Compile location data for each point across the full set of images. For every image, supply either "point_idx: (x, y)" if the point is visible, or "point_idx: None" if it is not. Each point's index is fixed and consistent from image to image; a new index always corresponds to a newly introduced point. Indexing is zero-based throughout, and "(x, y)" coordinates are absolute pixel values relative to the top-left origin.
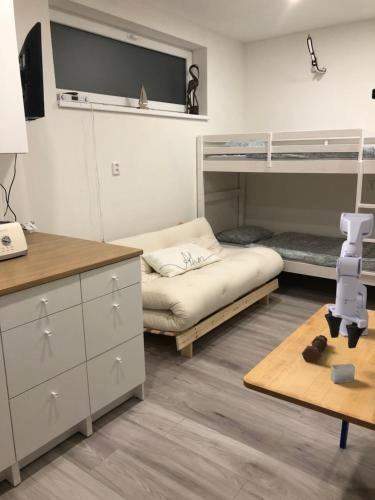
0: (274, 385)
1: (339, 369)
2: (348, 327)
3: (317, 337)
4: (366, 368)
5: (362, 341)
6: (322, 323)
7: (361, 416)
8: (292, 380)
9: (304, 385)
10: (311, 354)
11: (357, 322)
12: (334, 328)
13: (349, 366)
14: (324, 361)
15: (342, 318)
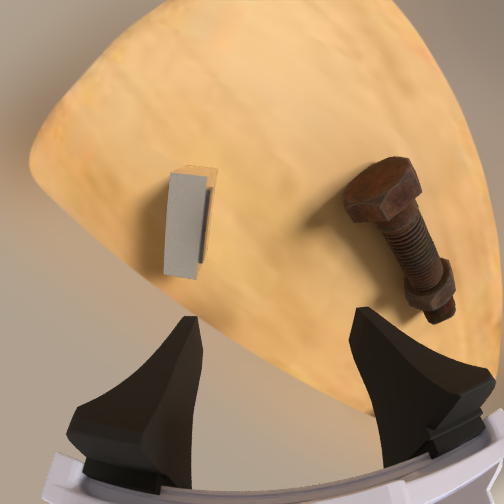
0: None
1: (169, 195)
2: (95, 426)
3: (448, 288)
4: (246, 336)
5: None
6: (479, 354)
7: (33, 152)
8: (264, 27)
9: (215, 49)
10: (376, 181)
11: (69, 492)
12: (380, 362)
13: (173, 254)
14: (348, 235)
15: (382, 451)
